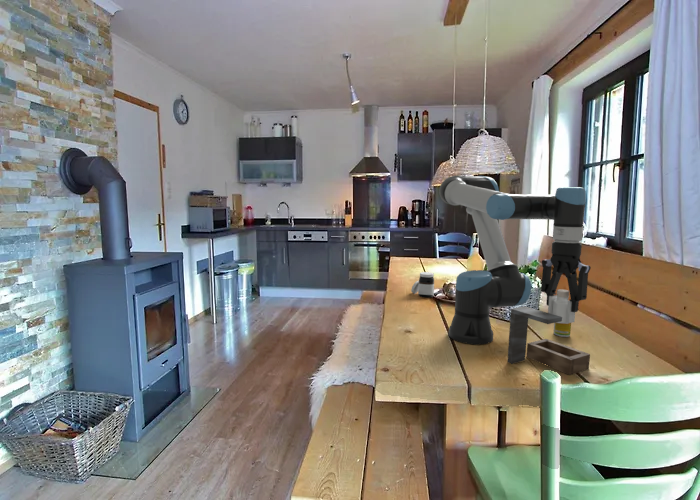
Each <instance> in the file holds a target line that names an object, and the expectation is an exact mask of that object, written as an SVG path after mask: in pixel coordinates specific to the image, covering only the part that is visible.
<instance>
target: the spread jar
mask: <svg viewBox="0 0 700 500" xmlns="http://www.w3.org/2000/svg"><path fill="white" fill-rule="evenodd" d="M410 291H411V293H412V294H415V295H416V294H418V297H421V298H424V299H425V298H426V299H429V298H430V299H431V298H433V297H434V295H435V294H434V293H435V278H434V273H433V272H429V271H428V272H427V271H426V272H425V271H421V272H419V277H418V280H417V281H415V282H413V285H412V287H411V289H410Z"/></svg>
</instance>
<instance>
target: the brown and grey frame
mask: <svg viewBox="0 0 700 500" xmlns="http://www.w3.org/2000/svg"><path fill="white" fill-rule="evenodd" d="M509 317H510V318H509V319H510V321H509V335H508V346H507V347H508V348H507V350H508V351H507V360H506V361H507V363H508V364H510V363H511V365H513V363H514V364H517V363H521V362H524V361H526V358H527V359H530V360H532V361H534V362H537V363H539V362H540V363H539V364H542V363H543V364H542V365H544V364H546V365H548V366H547V367H549V366H550V367H549V368H551V369H553V370H556V371H559V372H561V373H564V374H566V375H567V376H571V375H574V374H577V373H581V372H583V371H587V370H589V369H590V360H591V354H590V353H587V352H585V351H582V350H580V349H576V348H574V347H571V346H568V345H565V344H563V343H560V342H557V341H554V340H552V339H548V338H544V339H540V340H537V341H536V340H534V341H531V342H527V338H528V327H529V326H528V324H529V319H530V320H533V321H536V322H540V323H543V324H546V325H551V324H554V323H556V322H560V321H562V317H560V316H557V315H553V314H550V313H548V312H545V311H542V310H540V309H536V308H532V307H529V306H517V307H511V308H510V316H509ZM546 365H545V366H546Z"/></svg>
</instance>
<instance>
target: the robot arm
mask: <svg viewBox="0 0 700 500" xmlns="http://www.w3.org/2000/svg"><path fill="white" fill-rule="evenodd" d="M438 194H439V196H440V198H441V201H442V202H444V203H445V204H448V205H451V206H464V208H465V211H466V213H467V214H468V215H470V216H471V217H472V221H473V224H474V227H475V231H476V234H477V236H478V241H479V244H480V247H481V250H482V251H481V252H482V254H483V258H484V261H485V264H486V268H487V269H486V270H481V269H479V270H478V269H477V270H476V269H474V270H467V271H466V270H465V271H463V272H461V273H459V274H458V275H457V277H456V281H455V282H456V283H455V296H454V297H455V301H454V303H455V304H454V315H453V317H452V320H451V323H450V326H449V328H448V337H449V338H451V339H452V340H453V341H456V342H459V343H464V344H467V345H468V344H469V345H487V344H491V343H492V342H493V341H494V331H493V330H492V325H491V321H490V309H493V308H505V307H506V308H507V307H511V308H515V307H516V306H517V307H519V306H522V305H524V304H526V303H527V302H528V300H529V298H530V295H531V294H532V282H531V279H530V277H529V276H528V275H527V274H525V273H523V272H520V269H519V267H518V266H519V265H517V264H515V263H513V262H512V260H511V257H510V254H509V249H508V248H507V245H506V242H505V238H504V235H503V232H502V229H501V226H500V224H499V220H500V221H501V220H503V221H505V220H550V221H551V220H552V221H553V229H552V230H553V231H552V240H554V241H553V242H551V257H550V258H549V259H542V260H541V264H542V275H541V284H540V286H541V287H540V292H541V293H544V294H545V295H546V303H545V304H546V306H548V307H547V313H550V314H553V301H554V300H556V299H557V290H558V289H557V288H558V285H559V284H560V280H561V277H562V275H565V278H566V279H567V284H568V291H569V297H570V299H568V306H567V318H566V323H571V324H572V323H575V320H576V313H577V312H578V311H579V304H580V301H584V300H586V299H587V295H588V280H589V279H588V278H589V272H590V270H591V266H590V265H588V264H587V265H586V264H584V263H582V261H581V255H582V249H583V248H582V243H581V241H583V231H584V220H585V209H586V204H587V201H586V200H587V199H586V194H587V193H586V189H585V188H584V187H580V186H578V187H577V186H576V187H575V186H573V187H572V186H571V187H569V186H568V187H558V188H556V190H555V194H516V193H515V194H513V193H507V192H501V191H500V190H499V186H498V183H497V182H496V181H495V179H494V178H492V177H490V176H484V175H477V176H476V175H453V176H449V177H447V178H445V179H444V180H443V181H442V182H441V183H440V186H439V191H438ZM552 267H553V269H552ZM577 270H578V272H577ZM577 276H578V277H577ZM577 278H578V279H577Z"/></svg>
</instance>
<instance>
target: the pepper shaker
mask: <svg viewBox="0 0 700 500" xmlns="http://www.w3.org/2000/svg"><path fill="white" fill-rule="evenodd" d="M556 296H557V299H556V300H554V301H553V315H557V316H560V317H562V321H560V322H556V323H563V324H568V323H566V318H567V306H568V301H569V297H570V292H569V289H568V290H567V289H562V288H561V289H556Z"/></svg>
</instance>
